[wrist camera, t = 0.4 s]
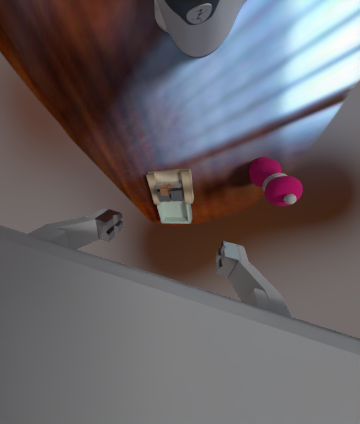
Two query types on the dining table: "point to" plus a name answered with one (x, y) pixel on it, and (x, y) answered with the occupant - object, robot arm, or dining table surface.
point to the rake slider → (168, 187)
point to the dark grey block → (177, 194)
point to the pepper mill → (274, 182)
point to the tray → (175, 212)
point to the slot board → (171, 176)
